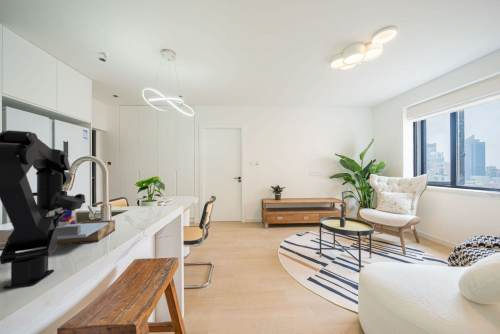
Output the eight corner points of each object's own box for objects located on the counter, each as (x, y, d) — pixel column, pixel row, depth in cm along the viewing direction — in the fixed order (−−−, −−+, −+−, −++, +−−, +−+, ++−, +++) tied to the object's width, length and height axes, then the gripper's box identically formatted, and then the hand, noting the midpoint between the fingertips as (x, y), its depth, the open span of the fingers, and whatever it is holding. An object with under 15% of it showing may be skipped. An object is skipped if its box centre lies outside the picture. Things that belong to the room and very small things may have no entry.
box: (97, 241, 74) (97, 229, 74) (56, 245, 71) (56, 232, 71) (115, 230, 88) (115, 220, 88) (80, 232, 84) (80, 222, 84)
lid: (85, 236, 66) (85, 225, 66) (34, 240, 62) (34, 229, 62) (107, 224, 80) (107, 215, 80) (67, 227, 77) (67, 217, 77)
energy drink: (64, 234, 83) (64, 207, 83) (55, 233, 84) (55, 207, 84) (78, 230, 88) (78, 205, 88) (69, 229, 89) (69, 205, 89)
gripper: (57, 191, 53) (56, 245, 52) (95, 185, 71) (95, 225, 71) (7, 192, 50) (7, 249, 50) (61, 186, 68) (60, 227, 68)
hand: (49, 236), depth 60 cm, fingers closed
